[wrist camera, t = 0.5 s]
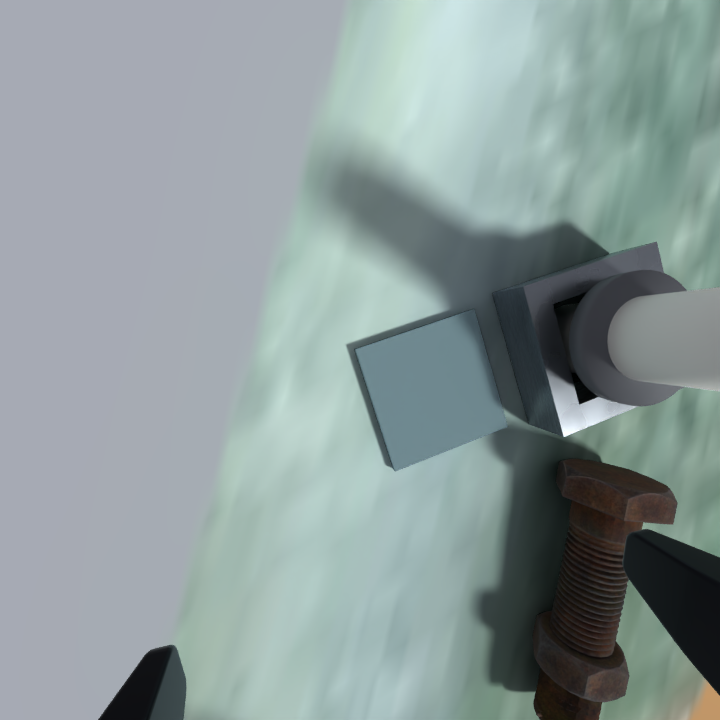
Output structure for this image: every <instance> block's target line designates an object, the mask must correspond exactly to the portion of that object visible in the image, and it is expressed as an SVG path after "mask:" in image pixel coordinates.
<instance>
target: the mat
mask: <svg viewBox="0 0 720 720" xmlns="http://www.w3.org/2000/svg"><path fill="white" fill-rule="evenodd" d="M354 350H355V353H356V356H357V359H358V362H359V365H360V368H361V371H362V375H363V378H364V381H365V384H366V387H367V390H368V393H369V396H370V399H371V402H372V405H373V408H374V411H375V414H376V418H377V421H378V424H379V427H380V430H381V433H382V436H383V439H384V442H385V445H386V448H387V451H388V454H389V457H390V461H391V464H392V467H393V469H394V471H397V470H400V469H403V468H405V467H408V466H410V465H413V464H415V463H418V462H420V461H423V460H425V459H428V458H430V457H433V456H435V455H438V454H440V453H443V452H445V451H448V450H450V449H453V448H456V447H458V446H461V445H463V444H466V443H468V442H471V441H473V440H476V439H478V438H481V437H483V436H486V435H488V434H491V433H493V432H496V431H498V430H501V429H503V428H506V427H508V425H507V422H506V418H505V415H504V411H503V408H502V404H501V401H500V397H499V394H498V390H497V387H496V383H495V380H494V376H493V373H492V369H491V366H490V362H489V359H488V355H487V352H486V348H485V345H484V341H483V338H482V334H481V331H480V327H479V324H478V320H477V317H476V313H475V310H474V309H472V310H469V311H466V312H463V313H460V314H457V315H454V316H451V317H448V318H445V319H442V320H439V321H436V322H433V323H430V324H427V325H424V326H421V327H418V328H416V329H413V330H410V331H407V332H404V333H401V334H398V335H395V336H392V337H389V338H386V339H383V340H380V341H377V342H374V343H371V344H368V345H365V346H362V347H359V348H357V349H354Z"/></svg>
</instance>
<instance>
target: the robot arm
mask: <svg viewBox="0 0 720 720" xmlns="http://www.w3.org/2000/svg"><path fill="white" fill-rule="evenodd" d="M622 564H623V569H624V572H625V574H626V575H627V577H628V578H629V580H630V581H631V582H632V584H633V585H634V587H635V588H636V589H637V591H638V592H639V593H640V595H641V596H642V597H643V599H644V600H645V602H646V603H647V604H648V606H649V607H650V608H651V610H652V611H653V612H654V614H655V615H656V616H657V618H658V619H659V621H660V622H661V623H662V625H663V626H664V627H665V629H666V630H667V631H668V633H669V634H670V636H671V637H672V638H673V640H674V641H675V642H676V644H677V645H678V646H679V647H680V649H681V650H682V651H683V653H684V654H685V655H686V656H687V658H688V659H689V660H690V661H691V662H692V664H693V665H694V666H695V667H696V668H697V670H698V671H699V672H700V673H701V674H702V675H703V677H704V678H705V679H706V680H707V681H708V682H709V684H710V685H711V686H712V687H713V688H714V690H715V691H717V693H718V694H719V695H720V557H717V556H715V555H712V554H710V553H707V552H705V551H702V550H700V549H697V548H695V547H692V546H690V545H687V544H685V543H682V542H680V541H677V540H675V539H672V538H670V537H667V536H664V535H662V534H659V533H657V532H654V531H652V530H648V529H643V530H639V531H634V532H631V533H629V534H628V535H627V537H626V542H625V548H624V555H623V562H622ZM185 699H186V678H185V674H184V671H183V667H182V664H181V660H180V657H179V654H178V650H177V648H176V647H175V646H174V645H167V646H163V647H159V648H155V649H152V650H150V651H149V652H148V653H147V654H146V655H145V656H144V657H143V659H142V660H141V661H140V663H139V664H138V666H137V667H136V668H135V670H134V671H133V672H132V674H131V675H130V677H129V678H128V679H127V681H126V682H125V683H124V685H123V686H122V687H121V689H120V690H119V692H118V693H117V694H116V696H115V697H114V699H113V700H112V701H111V703H110V704H109V705H108V707H107V708H106V710H105V711H104V712H103V714H102V715H101V717H100V718H99V719H98V720H183V719H184V709H185Z"/></svg>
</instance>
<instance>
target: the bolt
mask: <svg viewBox="0 0 720 720" xmlns="http://www.w3.org/2000/svg"><path fill="white" fill-rule="evenodd" d="M556 483H557V485H558V487H559V489H560V492H561V494H562V496H563V497H565V498H568V499H570V500H572V502H571V508H570V513H569V520H570V522H569V525H570V526H569V528H568V531H569V532H568V533H567V538H566V544H565V549H564V554H563V560H562V565H561V567H560V568H561V570H560V572H559V578H558V583H557V588H556V594H555V598H554V603H553V609H552V611H546V612H544V613H541V614H539V615H537V616H536V621H535V626H534V632H533V651H534V657H535V659H536V661H537V663H538V664H539V665H540V667H541V668H540V674H539V679H538V684H537V690H536V693H535V698H534V709H535V712H536V715H537V716H538V717H539V719H540V720H599V715H600V710H601V704H602V702H608V701H613V700H616V699H618V698H620V697H623V696H625V693H626V689H627V684H628V679H629V672H628V667H627V663H626V659H625V656H624V653H623V651H622V649H621V647H620V646H619V645H618V644H617V642H616V635H617V633H618V631H617V629H618V627H619V622H620V616H621V611H622V609H623V607H622V606H623V604H624V598H625V594H626V588H627V582H628V580H629V579H628V577H627V575H626V574H625V572H624V569H623V564H622V562H623V555H624V548H625V542H626V537H627V535H628V534H629V533H631V532H634V531H639V530H642V525H643V522H645V523H659V524H673V523H674V518H675V513H676V508H677V501H676V499H675V496H674V494H673V493H672V491H671V490H670V488H669V487H668V486H666V485H664V484H662V483H660V482H658V481H656V480H654V479H652V478H650V477H647V476H645V475H642V474H640V473H637V472H634V471H632V470H629V469H625V468H621V467H618V466H614V465H610V464H606V463H601V462H596V461H591V460H582V459H567V460H563V461H560V462H559V466H558V471H557V476H556Z"/></svg>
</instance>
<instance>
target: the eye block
mask: <svg viewBox="0 0 720 720" xmlns="http://www.w3.org/2000/svg"><path fill="white" fill-rule="evenodd" d="M637 270H654V271H659V272H662V273H664V271H663V267H662V263H661V258H660V254H659V249H658V245H657V242H653V243H650V244H646V245H642V246H638V247H634V248H630V249H626V250H622V251H619V252H615V253H611V254H608V255H605V256H602V257H599V258H596V259H593V260H590V261H587V262H584V263H581V264H578V265H575V266H572V267H569V268H566V269H563V270H560V271H557V272H554V273H551V274H548V275H545V276H542V277H539V278H536V279H533V280H530V281H527V282H524V283H521V284H518V285H515V286H512V287H509V288H506V289H503V290H500V291H497V292H494V293H492V294H493V298H494V301H495V305H496V308H497V312H498V316H499V319H500V323H501V326H502V330H503V334H504V337H505V341H506V344H507V348H508V351H509V355H510V359H511V362H512V366H513V369H514V373H515V376H516V380H517V384H518V387H519V391H520V394H521V398H522V401H523V405H524V409H525V412H526V416H527V419H528V423H529V424H530V425H532V426H535V427H538V428H541V429H543V430H546V431H549V432H552V433H554V434H557V435H560V436H563V437H565V436H567V435H570V434H572V433H575V432H577V431H579V430H582V429H584V428H587V427H589V426H592V425H594V424H596V423H599V422H601V421H604V420H606V419H609V418H611V417H614V416H616V415H618V414H621V413H623V412H626V411H628V410H631V409H633V408H635V407H638V406H630V405H625V404H620V403H615V402H611V401H608V400H605V399H603V398H600V397H598V396H597V395H595V394H594V393H592V392H591V391H590V390H589V389H588V388H587V387H586V386H585V385H584V384H583V382H582V381H580V382H577V383H575V384H574V383H573V379H572V376H571V372H570V368H569V364H568V360H567V357H566V353H565V349H564V345H563V341H562V338H561V334H560V330H559V326H558V322H557V318H556V315H555V311H554V307H553V304H554V303H557V302H560V301H563V300H566V299H569V298H572V297H574V296H577V295H580V294H583V293H586V292H588V291H589V290H590V289H591V288H592V287H593V286H594V285H596V284H597V283H598V282H600V281H602V280H603V279H605V278H608V277H610V276H613V275H616V274H621V273H626V272H631V271H637ZM682 388H684V387H681V388H680V389H682Z"/></svg>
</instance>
